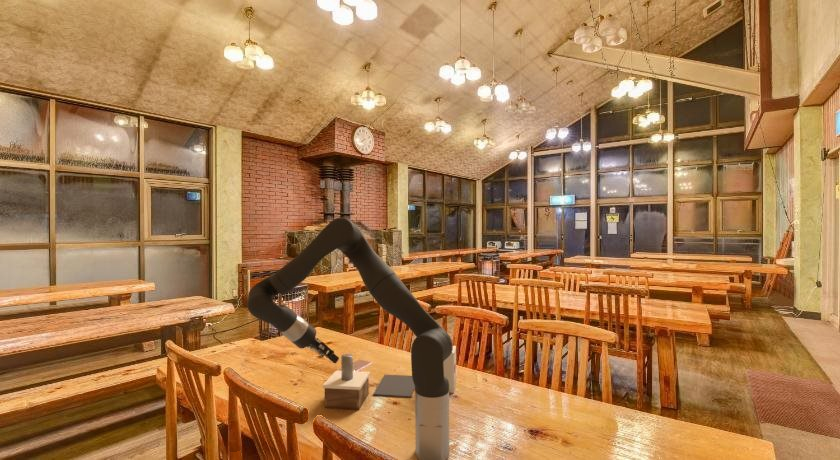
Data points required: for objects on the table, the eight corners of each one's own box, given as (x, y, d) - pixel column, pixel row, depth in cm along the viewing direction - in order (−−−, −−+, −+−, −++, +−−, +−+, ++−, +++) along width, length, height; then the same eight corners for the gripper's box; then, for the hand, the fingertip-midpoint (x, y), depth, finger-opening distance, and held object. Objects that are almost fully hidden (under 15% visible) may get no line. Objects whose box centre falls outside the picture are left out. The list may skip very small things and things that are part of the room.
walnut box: (358, 409, 127) (358, 389, 127) (324, 407, 129) (324, 387, 129) (368, 394, 139) (368, 375, 139) (337, 392, 141) (337, 373, 141)
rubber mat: (411, 397, 136) (411, 396, 136) (373, 395, 138) (373, 393, 138) (418, 377, 154) (418, 376, 154) (384, 375, 156) (384, 374, 156)
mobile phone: (372, 361, 170) (351, 373, 157) (372, 363, 170) (351, 375, 157) (359, 358, 174) (337, 370, 161) (359, 361, 174) (337, 372, 161)
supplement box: (454, 393, 139) (454, 353, 139) (430, 391, 141) (429, 351, 141) (456, 383, 148) (456, 345, 148) (434, 381, 150) (433, 344, 149)
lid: (359, 394, 127) (359, 363, 126) (322, 392, 128) (322, 361, 128) (370, 378, 139) (369, 350, 139) (336, 377, 141) (335, 349, 141)
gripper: (316, 325, 118) (348, 353, 126) (296, 317, 128) (327, 343, 136) (300, 345, 114) (334, 373, 122) (281, 336, 125) (313, 361, 133)
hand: (330, 357), depth 129 cm, fingers open, 8 cm apart
